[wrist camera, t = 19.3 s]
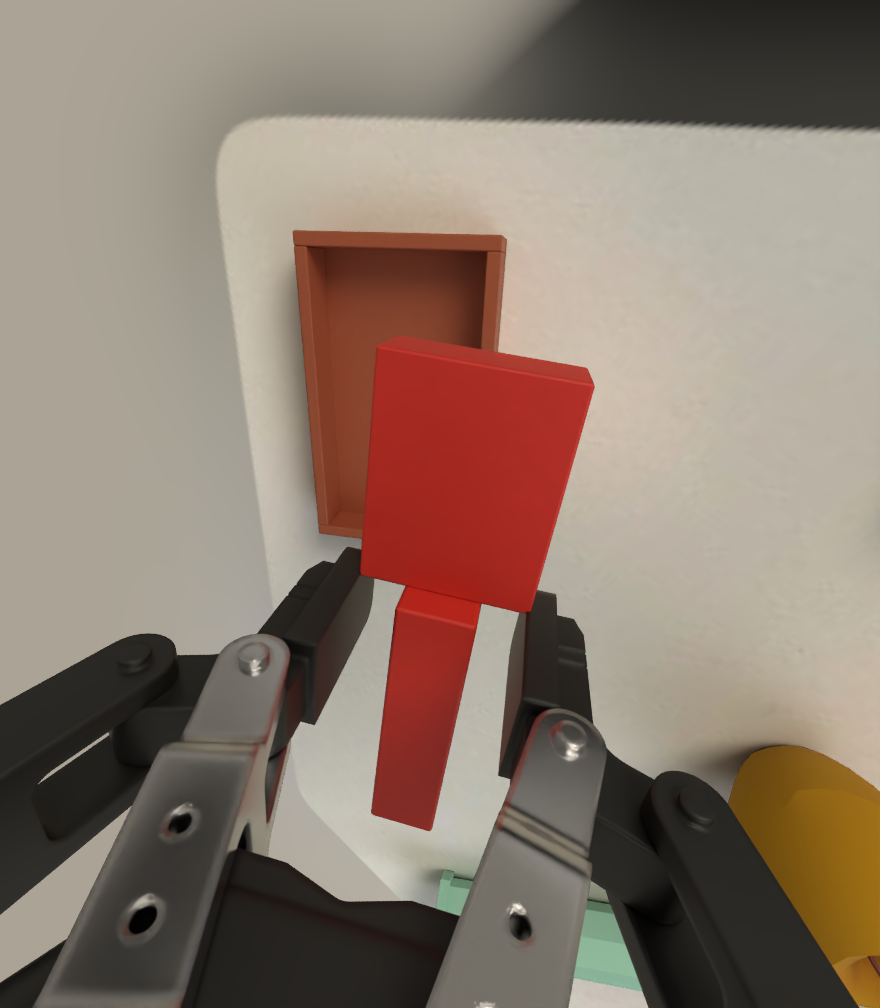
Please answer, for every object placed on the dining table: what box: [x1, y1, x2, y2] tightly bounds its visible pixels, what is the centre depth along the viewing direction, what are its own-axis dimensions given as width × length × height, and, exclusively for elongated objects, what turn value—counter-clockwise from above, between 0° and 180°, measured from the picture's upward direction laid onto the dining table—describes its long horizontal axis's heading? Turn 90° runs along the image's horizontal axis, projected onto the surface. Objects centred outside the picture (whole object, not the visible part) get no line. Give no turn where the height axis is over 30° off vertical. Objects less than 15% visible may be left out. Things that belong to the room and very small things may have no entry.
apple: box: [728, 745, 880, 1008], centre depth 26 cm, size 10×10×12 cm
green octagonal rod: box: [436, 870, 643, 992], centre depth 40 cm, size 6×6×25 cm
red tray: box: [293, 230, 507, 539], centre depth 25 cm, size 15×9×2 cm, turn 178°
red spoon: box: [360, 335, 594, 831], centre depth 12 cm, size 13×4×2 cm, turn 172°
